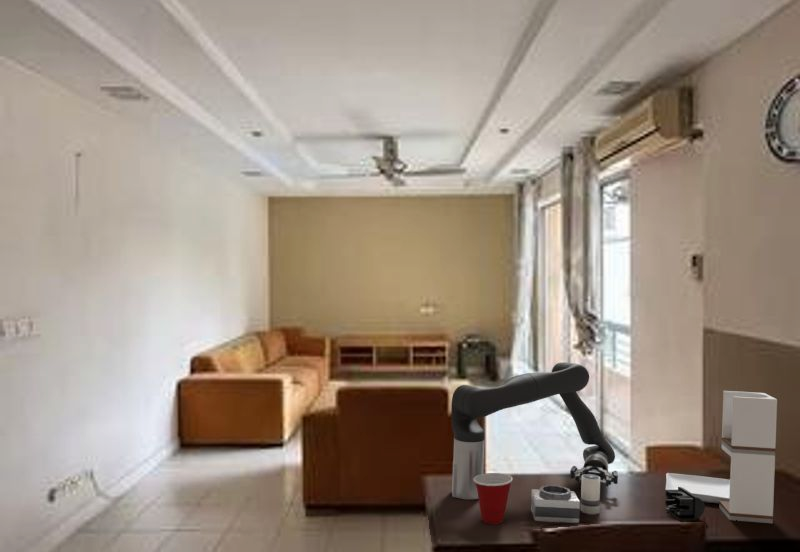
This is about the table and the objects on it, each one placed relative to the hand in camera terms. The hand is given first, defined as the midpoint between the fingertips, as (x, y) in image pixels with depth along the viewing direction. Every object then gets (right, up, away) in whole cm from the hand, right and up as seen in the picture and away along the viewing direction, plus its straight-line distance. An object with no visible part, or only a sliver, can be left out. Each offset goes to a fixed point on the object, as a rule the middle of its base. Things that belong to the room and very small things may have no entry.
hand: (592, 481), depth 218 cm
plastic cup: (-33, -5, -20) cm, 39 cm away
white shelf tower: (+42, -8, -9) cm, 43 cm away
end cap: (+24, -7, -10) cm, 27 cm away
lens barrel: (-3, -6, -9) cm, 12 cm away
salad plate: (+37, -7, +10) cm, 39 cm away
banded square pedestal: (-15, -6, -15) cm, 22 cm away
